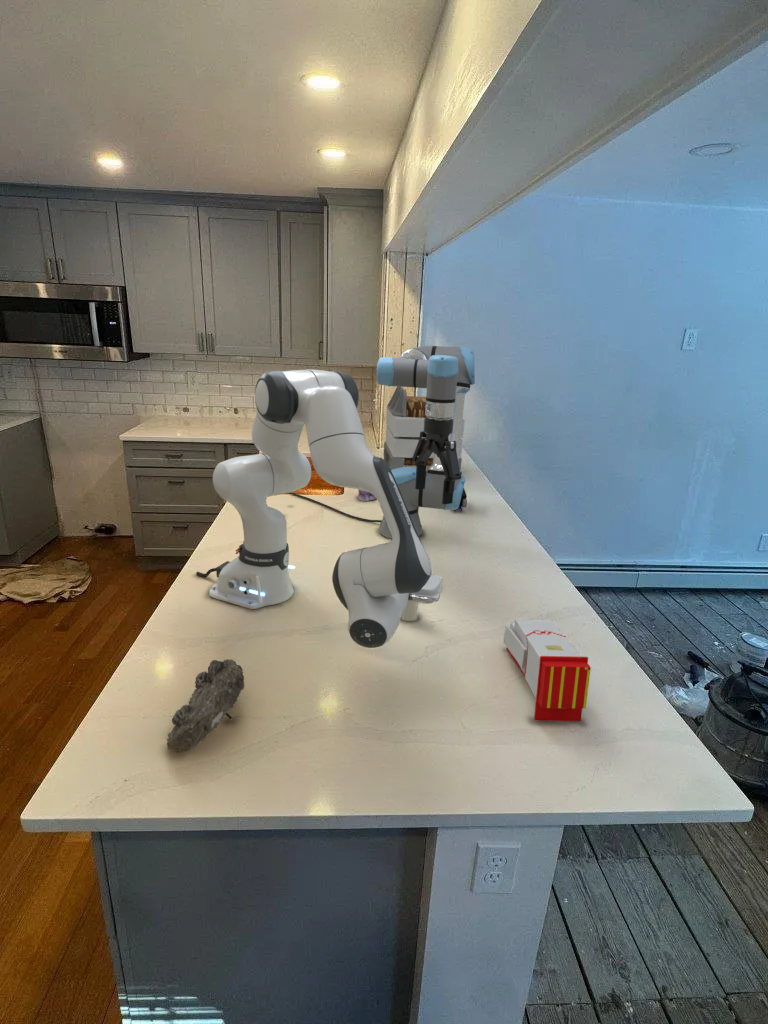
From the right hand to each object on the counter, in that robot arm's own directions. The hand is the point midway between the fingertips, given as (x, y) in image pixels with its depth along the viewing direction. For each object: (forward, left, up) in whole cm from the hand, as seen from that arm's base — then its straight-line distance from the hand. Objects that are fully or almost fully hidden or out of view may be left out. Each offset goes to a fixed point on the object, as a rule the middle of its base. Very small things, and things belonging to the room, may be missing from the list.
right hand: (433, 495), depth 153 cm
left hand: (+15, -25, -8) cm, 31 cm away
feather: (-70, -5, -28) cm, 76 cm away
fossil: (+14, -71, -28) cm, 78 cm away
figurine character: (-42, +59, -28) cm, 78 cm away
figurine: (-71, +36, -28) cm, 85 cm away
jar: (+9, -16, -28) cm, 33 cm away
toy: (+46, -11, -28) cm, 54 cm away
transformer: (-87, +82, -28) cm, 123 cm away
